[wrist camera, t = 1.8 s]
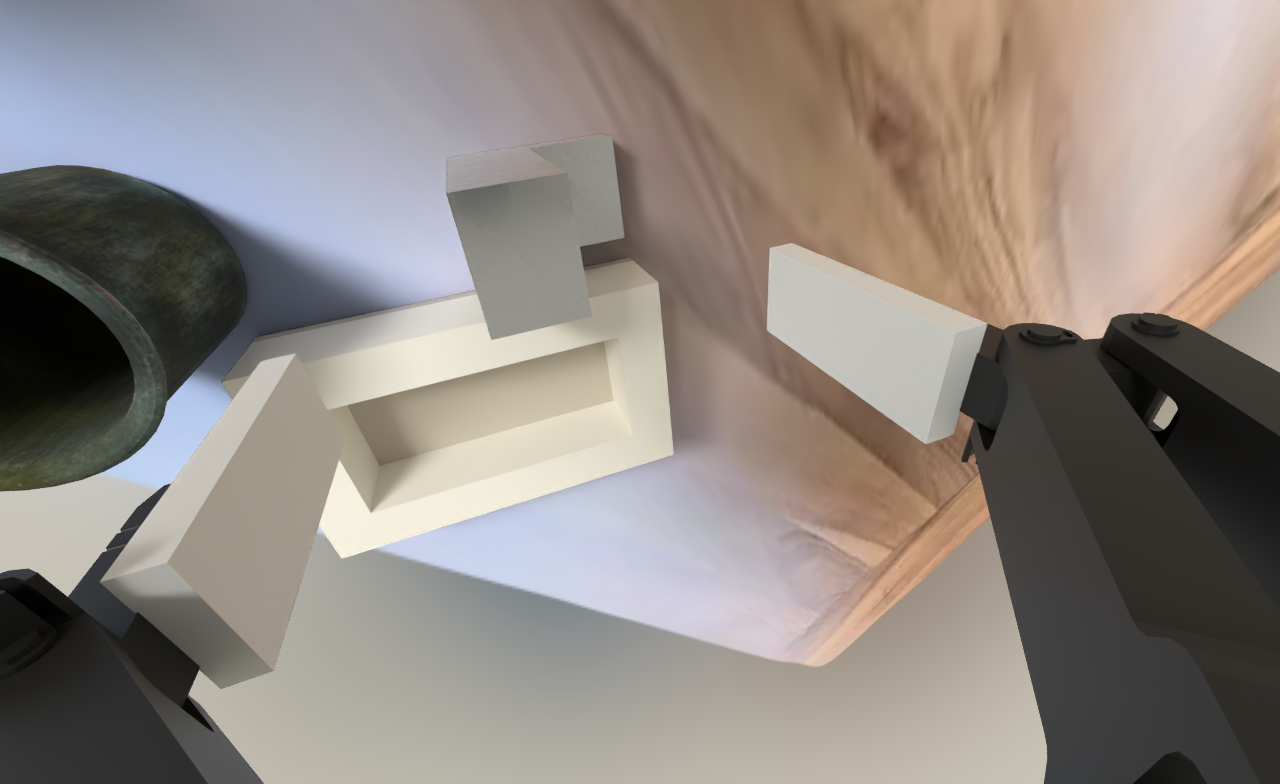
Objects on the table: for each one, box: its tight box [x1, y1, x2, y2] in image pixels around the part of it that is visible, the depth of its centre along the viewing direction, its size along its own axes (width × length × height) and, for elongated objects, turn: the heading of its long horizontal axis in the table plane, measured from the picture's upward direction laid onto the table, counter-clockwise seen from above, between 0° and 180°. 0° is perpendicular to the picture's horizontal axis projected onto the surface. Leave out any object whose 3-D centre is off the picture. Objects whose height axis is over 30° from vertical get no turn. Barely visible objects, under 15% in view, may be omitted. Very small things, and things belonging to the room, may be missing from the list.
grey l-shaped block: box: [446, 133, 625, 340], centre depth 26 cm, size 6×10×13 cm, turn 97°
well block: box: [221, 257, 674, 558], centre depth 34 cm, size 14×24×6 cm, turn 97°
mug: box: [0, 165, 247, 491], centre depth 20 cm, size 11×15×12 cm
